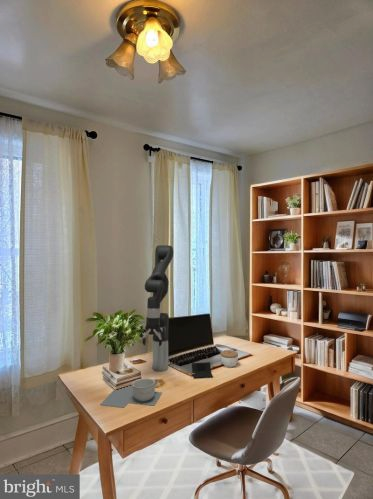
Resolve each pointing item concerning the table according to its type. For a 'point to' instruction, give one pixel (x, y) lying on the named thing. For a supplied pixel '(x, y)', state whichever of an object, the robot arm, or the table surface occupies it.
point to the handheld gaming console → (201, 370)
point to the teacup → (144, 388)
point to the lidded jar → (229, 358)
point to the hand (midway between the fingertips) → (152, 345)
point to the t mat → (127, 398)
